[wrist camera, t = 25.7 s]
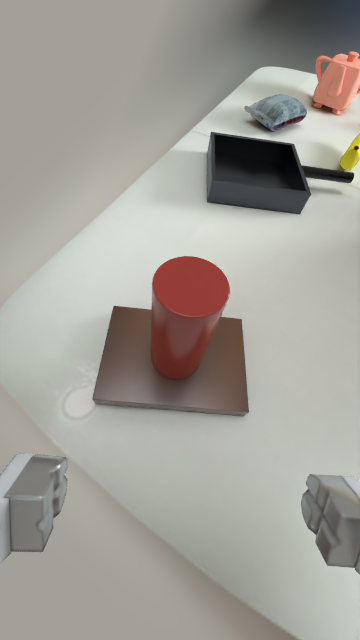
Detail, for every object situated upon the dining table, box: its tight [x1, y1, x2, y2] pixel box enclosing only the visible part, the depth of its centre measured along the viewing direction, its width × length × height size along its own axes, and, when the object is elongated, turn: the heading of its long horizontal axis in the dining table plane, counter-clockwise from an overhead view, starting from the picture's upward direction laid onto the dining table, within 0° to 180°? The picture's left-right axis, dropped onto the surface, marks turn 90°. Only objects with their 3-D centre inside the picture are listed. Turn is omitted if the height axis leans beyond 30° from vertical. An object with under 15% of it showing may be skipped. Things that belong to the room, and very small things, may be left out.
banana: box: [340, 133, 360, 169], centre depth 51 cm, size 3×19×6 cm, turn 146°
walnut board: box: [93, 306, 249, 416], centre depth 27 cm, size 14×10×2 cm
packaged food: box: [245, 94, 307, 131], centre depth 58 cm, size 9×12×5 cm
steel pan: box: [207, 132, 354, 214], centre depth 46 cm, size 24×15×4 cm, turn 87°
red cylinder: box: [151, 256, 230, 379], centre depth 22 cm, size 5×5×11 cm
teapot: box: [313, 52, 360, 114], centre depth 65 cm, size 14×12×10 cm
